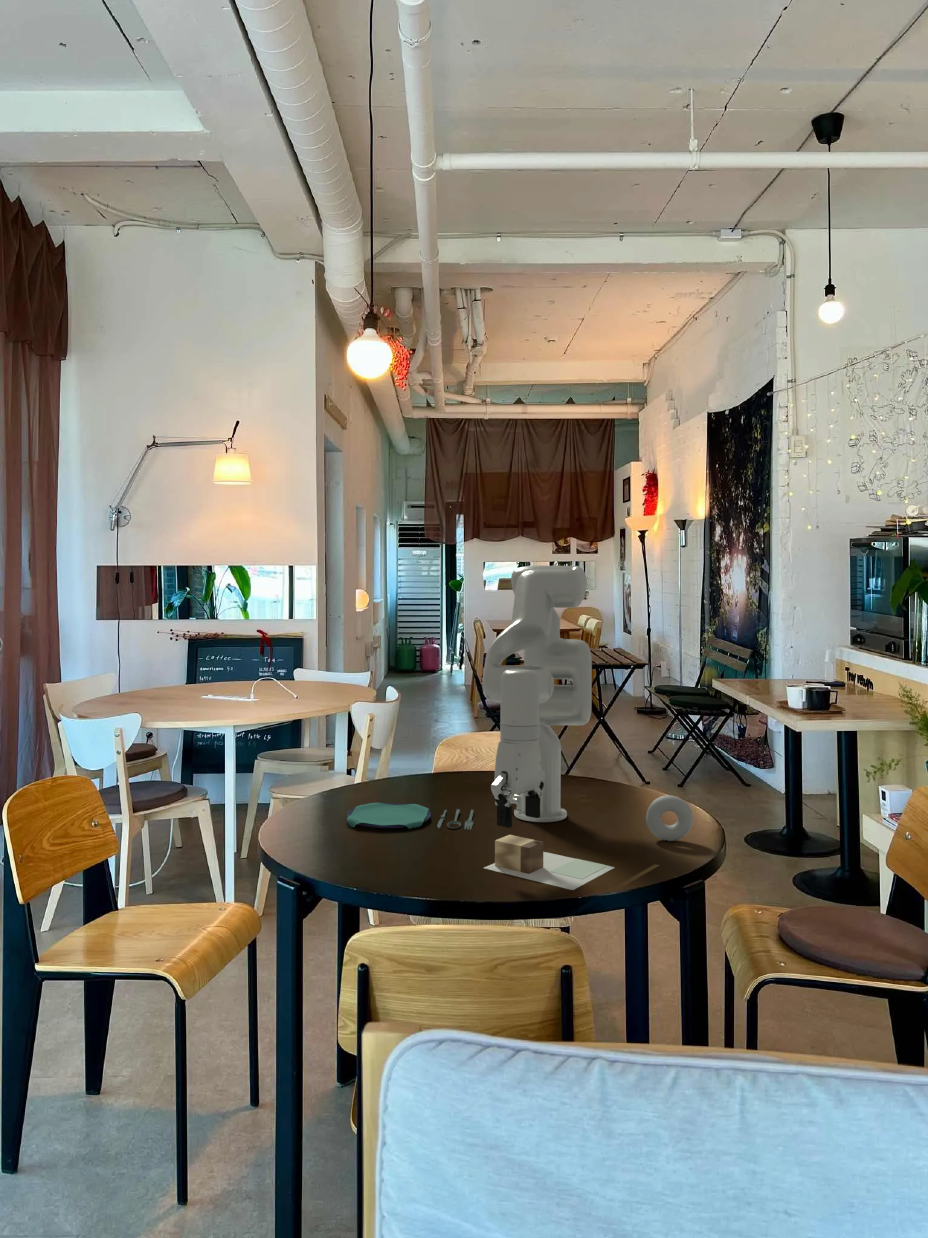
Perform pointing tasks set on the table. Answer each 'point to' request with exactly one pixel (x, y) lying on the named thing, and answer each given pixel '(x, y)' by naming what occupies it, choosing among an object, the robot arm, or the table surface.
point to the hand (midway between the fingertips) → (518, 821)
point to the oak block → (519, 854)
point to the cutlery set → (397, 816)
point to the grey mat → (560, 871)
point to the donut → (669, 831)
